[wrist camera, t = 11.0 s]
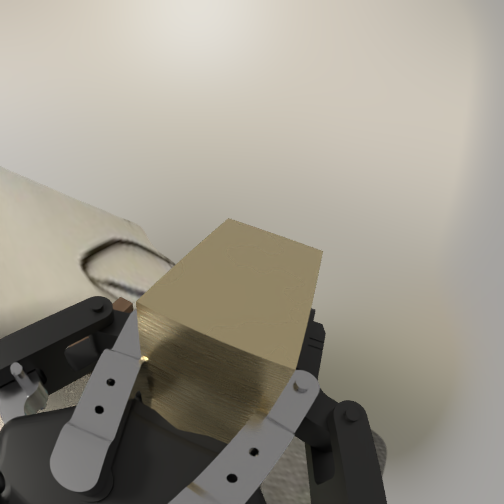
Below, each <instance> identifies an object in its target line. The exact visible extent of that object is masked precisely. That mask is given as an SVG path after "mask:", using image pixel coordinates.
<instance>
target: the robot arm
mask: <svg viewBox="0 0 504 504" xmlns="http://www.w3.org/2000/svg"><path fill="white" fill-rule="evenodd" d="M314 315H315V309H312V308H311V310H310V315H309V319H308V323H307V327H306V331H305V335H304V339H303V343H302V347H301V351H300V355H299V359H298V363H297V366H296V370H295V372H294V373H293V375H292V377H291V378H290V380H289V382H288V383H287V385H286V387H285V388H284V390H283V391H282V393H281V395H280V396H279V398H278V400H277V401H276V403H275V404H274V406H273V407H272V409H271V410H270V412H269V414H266V413H263V412H261V411H257V412H256V413H255V414H254V415H253V416H252V417H251V418H250V420H249V421H248V422H247V423H246V424H245V426H244V427H243V428H242V429H241V430H240V431H239V433H238V434H237V435H236V436H235V437H234V438H233V439H232V441H231V442H230V443H229V444H227V443H225V442H222V441H220V440H217V439H215V438H212V437H210V436H207V435H202V434H197V433H192V432H187V431H183V430H179V429H177V428H175V427H174V426H173V425H172V424H170V423H169V422H168V421H167V420H166V419H165V418H163V417H162V416H161V415H160V414H159V413H158V412H157V411H155V410H154V409H152V408H151V404H152V394H151V391H149V384H148V360H146V359H143V358H141V351H140V342H139V332H138V320H137V309H136V310H134V311H133V312H132V313H127V312H122V311H118V310H114V309H113V305H112V303H111V301H110V300H109V299H107V298H105V297H101V296H94V297H91V298H88V299H86V300H84V301H82V302H79V303H77V304H75V305H73V306H71V307H68V308H66V309H64V310H62V311H59V312H57V313H55V314H53V315H51V316H49V317H46V318H44V319H42V320H40V321H38V322H36V323H33V324H31V325H29V326H27V327H25V328H23V329H21V330H18V331H16V332H14V333H12V334H10V335H8V336H6V337H4V338H2V339H0V415H1V417H2V420H3V422H4V424H5V425H4V426H3V427H2V429H1V431H0V504H266V502H265V499H264V497H263V494H262V492H261V489H260V487H259V485H260V484H261V483H262V482H263V480H264V479H265V478H266V476H267V475H268V474H269V472H270V471H271V470H272V468H273V467H274V465H275V464H276V463H277V461H278V460H279V458H280V457H281V455H282V454H283V453H284V451H285V450H286V448H287V447H288V445H289V444H290V442H291V441H292V439H293V437H294V436H296V437H297V438H299V439H301V440H302V441H304V442H305V449H306V458H307V467H308V476H309V485H310V495H311V504H387V501H386V496H385V490H384V486H383V481H382V476H381V471H380V467H379V462H378V458H377V454H376V449H375V445H374V441H373V437H372V433H371V429H370V425H369V421H368V418H367V414H366V412H365V410H364V408H363V407H362V406H361V405H360V404H358V403H356V402H354V401H349V400H346V401H342V402H340V403H338V402H336V401H334V400H333V399H331V398H330V397H328V396H327V395H326V394H325V393H323V391H322V390H321V389H320V386H319V383H318V373H319V368H320V363H321V356H322V350H323V346H324V340H325V331H324V328H323V325H322V324H320V323H317V322H314V321H313V320H314ZM87 336H89V338H87V339H85V340H83V341H81V342H79V343H77V344H75V345H73V346H71V347H69V348H67V347H68V346H70V345H71V344H73V343H75V342H77V341H79V340H81V339H83V338H85V337H87ZM66 348H67V349H66ZM92 371H93V372H92ZM90 372H92V374H91V376H90V378H89V381H88V383H87V385H86V387H85V389H84V391H83V393H82V395H81V398H80V400H79V402H78V404H77V406H73V407H68V408H64V409H59V410H53V411H48V412H43V413H37V411H38V410H39V409H40V410H42V409H44V408H45V407H46V402H47V399H48V395H50V394H52V393H54V392H56V391H57V390H59V389H61V388H63V387H65V386H67V385H68V384H70V383H72V382H74V381H76V380H77V379H79V378H81V377H83V376H85V375H86V374H88V373H90ZM36 413H37V414H36Z"/></svg>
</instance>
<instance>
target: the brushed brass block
mask: <svg viewBox="0 0 504 504" xmlns="http://www.w3.org/2000/svg"><path fill="white" fill-rule="evenodd" d="M322 253H323V251H321V250H318V249H315V248H313V247H310V246H307V245H304V244H302V243H298V242H296V241H293V240H290V239H287V238H285V237H282V236H278V235H276V234H273V233H270V232H267V231H264V230H262V229H259V228H256V227H253V226H250V225H247V224H244V223H241V222H238V221H235V220H232V219H229V218H228V219H227V220H226V221H225V222H224V223H222V224H221V225H220V226H219V227H218V228H217V229H215V230H214V231H213V232H212V233H211V234H210V235H209V236H207V237H206V238H205V239H204V240H203V241H202V242H201V243H199V244H198V245H197V246H196V247H195V248H194V249H193V250H192V251H190V252H189V253H188V254H187V255H186V256H185V257H184V258H183V259H182V260H181V261H179V262H178V263H177V264H176V265H175V266H174V267H173V268H172V269H171V270H169V271H168V272H167V273H166V274H165V275H164V276H163V277H162V278H161V279H160V280H159V281H157V282H156V283H155V284H154V285H153V286H152V287H151V288H150V289H149V290H148V291H147V292H146V293H145V294H144V295H142V296H141V297H140V298H139V299H138V300H137V301H136V307H137V320H138V332H139V342H140V351H141V358H143V359H146V360H148V384H149V391H151V394H152V404H151V408H152V409H154V410H155V411H157V412H158V413H159V414H160V415H161V416H162V417H163V418H165V419H166V420H167V421H168V422H169V423H170V424H172V425H173V426H174V427H175V428H177V429H179V430H183V431H187V432H192V433H197V434H202V435H207V436H210V437H212V438H215V439H217V440H220V441H222V442H225V443H227V444H229V443H230V442H231V441H232V439H233V438H234V437H235V436H236V435H237V434H238V433H239V431H240V430H241V429H242V428H243V427H244V426H245V424H246V423H247V422H248V421H249V420H250V418H251V417H252V416H253V415H254V414H255V413H256V412H257V411H261V412H263V413H266V414H269V412H270V410H271V409H272V407H273V406H274V404H275V403H276V401H277V400H278V398H279V396H280V395H281V393H282V391H283V390H284V388H285V387H286V385H287V383H288V382H289V380H290V378H291V377H292V375H293V373H294V372H295V370H296V366H297V363H298V359H299V355H300V351H301V347H302V343H303V339H304V335H305V331H306V327H307V323H308V319H309V315H310V310H311V305H312V301H313V297H314V292H315V288H316V283H317V278H318V273H319V268H320V263H321V258H322Z"/></svg>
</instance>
